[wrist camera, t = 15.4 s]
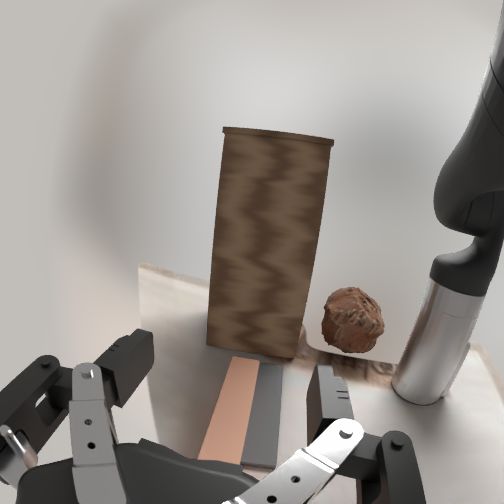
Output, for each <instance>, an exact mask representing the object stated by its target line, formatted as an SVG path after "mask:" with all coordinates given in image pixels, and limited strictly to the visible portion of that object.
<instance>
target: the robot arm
mask: <svg viewBox="0 0 504 504" xmlns="http://www.w3.org/2000/svg"><path fill="white" fill-rule="evenodd" d="M434 210H435V214H436V217H437V219H438V220H439V222H440V223H441V224H443V225H444V226H445V227H447V228H449V229H452V230H455V231H458V232H462V233H465V234H469V235H472V236H475V237H474V240H473V243H472V244H471V245H470V246H469V247H468V248H466V249H464V250H462V251H459V252H456V253H451V254H444V255H439V256H437V257H436V258H435V259H434V261H433V264H432V268H431V272H430V276H429V279H428V282H427V286H426V289H425V293H424V297H423V300H422V303H421V306H420V309H419V312H418V315H417V318H416V321H415V324H414V327H413V329H412V332H411V335H410V337H409V340H408V342H407V345H406V347H405V350H404V352H403V355H402V357H401V360H400V362H399V364H398V366H397V368H396V371H395V373H394V375H393V378H392V385H393V388H394V389H395V391H396V392H397V393H398V394H399V395H400V396H401V397H402V398H404V399H406V400H407V401H410V402H412V403H415V404H421V405H427V404H432V403H434V402H436V401H437V400H438V399H439V398H440V397H444V396H445V395H446V393H447V392H448V390H449V388H450V386H451V385H452V383H453V381H454V379H455V377H456V375H457V373H458V372H459V370H460V368H461V366H462V364H463V362H464V360H465V357H466V355H467V353H468V351H469V349H470V343H469V342H468V341H469V339H470V336H471V334H472V331H473V329H474V326H475V324H476V321H477V318H478V316H479V313H480V310H481V307H482V305H483V301H484V298H485V295H486V292H487V289H488V286H489V284H490V281H491V280H492V278H493V275H494V273H495V270H496V267H497V263H498V260H499V256H500V252H501V248H502V244H503V240H504V0H503V6H502V12H501V16H500V21H499V25H498V29H497V33H496V37H495V40H494V44H493V47H492V51H491V54H490V58H489V61H488V65H487V69H486V72H485V75H484V78H483V82H482V85H481V89H480V92H479V96H478V99H477V102H476V105H475V108H474V111H473V114H472V116H471V119H470V121H469V124H468V126H467V128H466V131H465V132H464V134H463V136H462V138H461V140H460V141H459V143H458V144H457V146H456V147H455V149H454V150H453V152H452V153H451V155H450V156H449V158H448V159H447V161H446V162H445V164H444V165H443V167H442V169H441V171H440V175H439V176H438V179H437V183H436V186H435V191H434ZM153 363H154V345H153V334H152V332H149V331H145V330H142V329H136V330H135V331H134V332H133V333H132V334H131V335H130V336H128V335H126V336H124V337H121V338H119V339H118V340H117V341H116V342H114V343H113V345H111V346H110V347H109V348H108V350H106V351H105V352H104V353H103V354H102V355H101V356H100V357H99V358H98V359H97V360H96V361H95V362H94V363H81V364H79V365H77V366H76V367H75V368H74V369H71V368H66V367H61V366H60V363H59V360H58V359H57V358H56V357H54V356H51V355H44V356H41V357H39V358H37V359H36V360H35V361H34V362H33V363H32V364H30V365H29V366H28V367H27V368H26V369H25V370H24V371H22V372H21V373H20V374H19V375H18V376H17V377H16V378H15V379H14V380H12V381H11V382H10V383H9V384H8V385H7V386H6V387H5V388H4V389H3V390H2V391H1V392H0V481H1V482H3V483H4V484H7V485H11V486H12V487H14V488H15V489H16V490H17V499H16V504H310V503H311V502H312V500H313V499H314V498H315V497H316V496H317V495H318V494H319V493H320V492H321V491H322V490H323V489H324V488H325V487H326V486H327V485H328V484H329V483H330V482H331V481H332V479H333V478H334V477H335V476H336V475H337V474H338V475H342V476H346V477H350V478H354V479H356V490H357V504H426V500H425V495H424V490H423V485H422V481H421V476H420V472H419V468H418V464H417V460H416V456H415V452H414V449H413V445H412V441H411V439H410V438H409V437H408V436H407V435H406V434H405V433H403V432H400V431H390V432H387V433H386V434H385V435H384V436H383V437H378V436H374V435H370V434H367V433H365V432H363V429H362V427H361V426H360V425H359V424H358V423H357V422H355V421H354V416H353V411H352V406H351V402H350V399H349V398H350V397H349V393H348V388H347V384H346V383H345V381H344V380H343V379H342V378H341V377H338V376H334V373H333V368H332V366H330V365H320V364H316V366H315V368H314V371H313V375H312V378H311V381H310V384H309V387H308V391H307V398H306V403H307V448H306V449H303V448H302V449H300V450H299V451H297V452H296V453H295V454H294V455H293V456H291V457H290V458H289V459H288V460H287V461H285V462H284V463H283V464H282V465H280V466H279V467H278V468H277V469H275V470H274V471H273V472H272V473H270V474H269V475H268V476H266V477H265V478H264V479H262V480H261V481H259V480H257V479H256V478H254V477H253V476H251V475H249V474H246V473H244V472H242V469H243V465H238V464H233V463H228V462H223V461H218V460H199V459H188V458H186V457H184V456H182V455H180V454H178V453H176V452H174V451H173V450H171V449H169V448H167V447H166V446H163V445H160V444H157V443H154V442H151V441H149V440H146V439H143V438H141V440H140V441H139V443H138V444H136V443H121V444H119V442H118V439H117V435H116V430H115V426H114V422H113V416H112V411H111V408H112V406H113V405H116V406H118V407H120V408H122V407H123V406H124V404H125V403H126V402H127V400H128V399H129V398H130V396H131V395H132V394H133V392H134V391H135V390H136V388H137V387H138V385H139V384H140V383H141V381H142V380H143V379H144V377H145V376H146V375H147V373H148V372H149V371H150V369H151V368H152V366H153ZM44 393H45V395H46V397H45V398H44V399H43V400H42V401H41V402H40V403H39V405H38V406H37V407H36V408H35V406H36V402H37V400H38V399H39V398H40V397H41V396H42V395H43V394H44ZM68 413H69V416H70V417H69V418H70V432H71V445H72V454H73V458H69V459H65V460H61V461H57V462H53V463H49V464H45V465H40V466H37V463H38V456H37V454H38V452H39V451H40V450H41V448H42V447H43V446H44V445H45V443H46V442H47V441H48V439H49V438H50V437H51V435H52V434H53V433H54V432H55V430H56V429H57V428H58V426H59V425H60V424H61V422H62V421H63V420H64V419H65V417H66V416H67V415H68Z"/></svg>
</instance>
